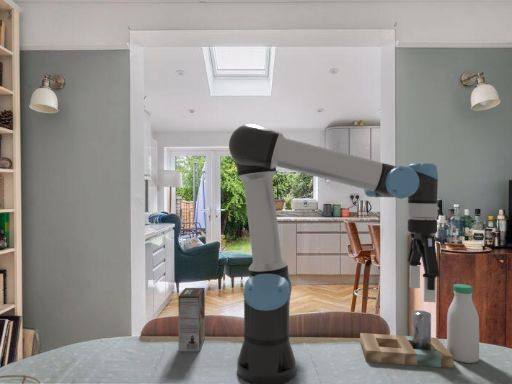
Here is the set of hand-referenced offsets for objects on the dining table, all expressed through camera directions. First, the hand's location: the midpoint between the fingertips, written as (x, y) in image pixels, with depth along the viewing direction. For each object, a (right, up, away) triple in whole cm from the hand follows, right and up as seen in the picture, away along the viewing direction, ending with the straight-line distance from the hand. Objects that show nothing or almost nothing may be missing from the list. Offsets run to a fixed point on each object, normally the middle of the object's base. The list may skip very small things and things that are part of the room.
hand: (421, 294), depth 98 cm
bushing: (0, -17, 0) cm, 17 cm away
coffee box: (-66, -17, +7) cm, 68 cm away
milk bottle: (+11, -18, -1) cm, 21 cm away
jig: (-5, -17, +1) cm, 18 cm away
